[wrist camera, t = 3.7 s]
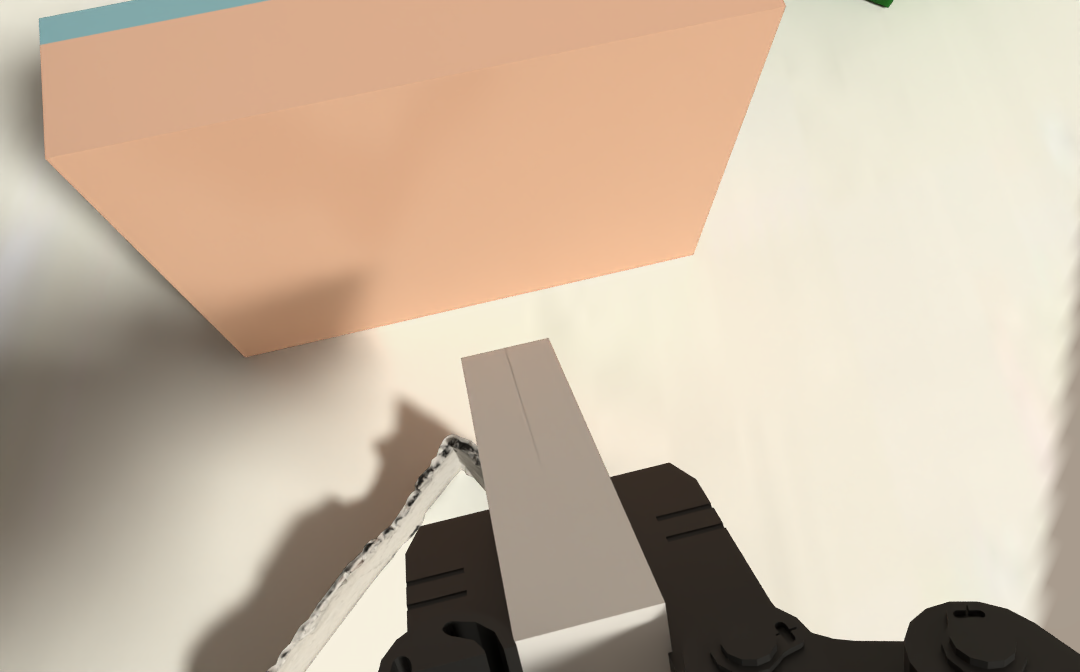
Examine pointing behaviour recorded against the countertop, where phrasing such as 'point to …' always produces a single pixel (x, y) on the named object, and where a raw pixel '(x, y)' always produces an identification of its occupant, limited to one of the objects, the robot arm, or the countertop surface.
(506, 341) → the countertop surface
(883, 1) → the milk carton
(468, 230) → the terracotta tile
